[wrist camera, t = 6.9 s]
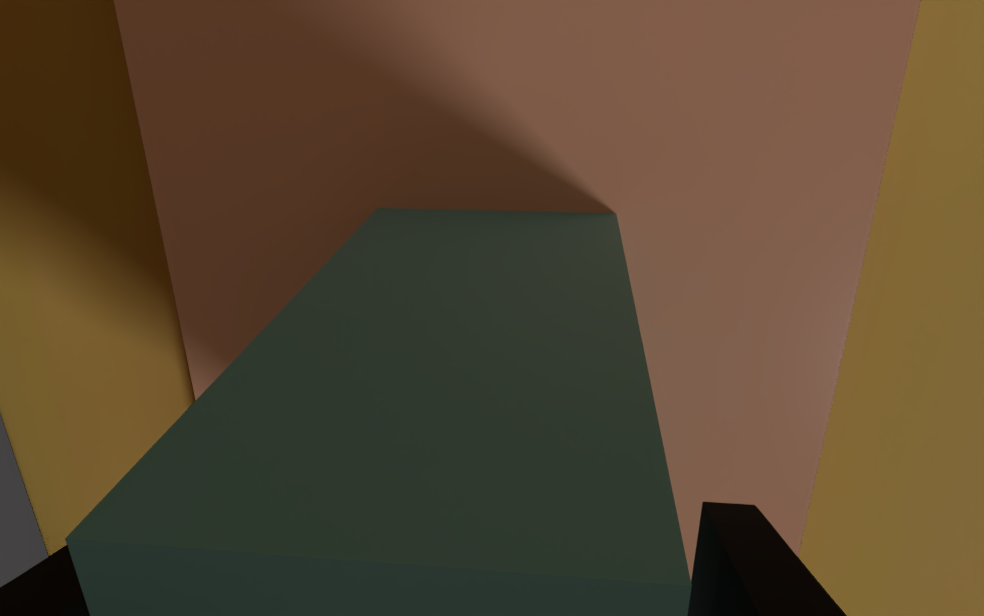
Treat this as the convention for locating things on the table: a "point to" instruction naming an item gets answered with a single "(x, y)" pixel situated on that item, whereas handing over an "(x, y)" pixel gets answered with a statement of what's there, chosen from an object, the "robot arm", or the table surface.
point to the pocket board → (16, 519)
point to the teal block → (414, 443)
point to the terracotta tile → (549, 179)
